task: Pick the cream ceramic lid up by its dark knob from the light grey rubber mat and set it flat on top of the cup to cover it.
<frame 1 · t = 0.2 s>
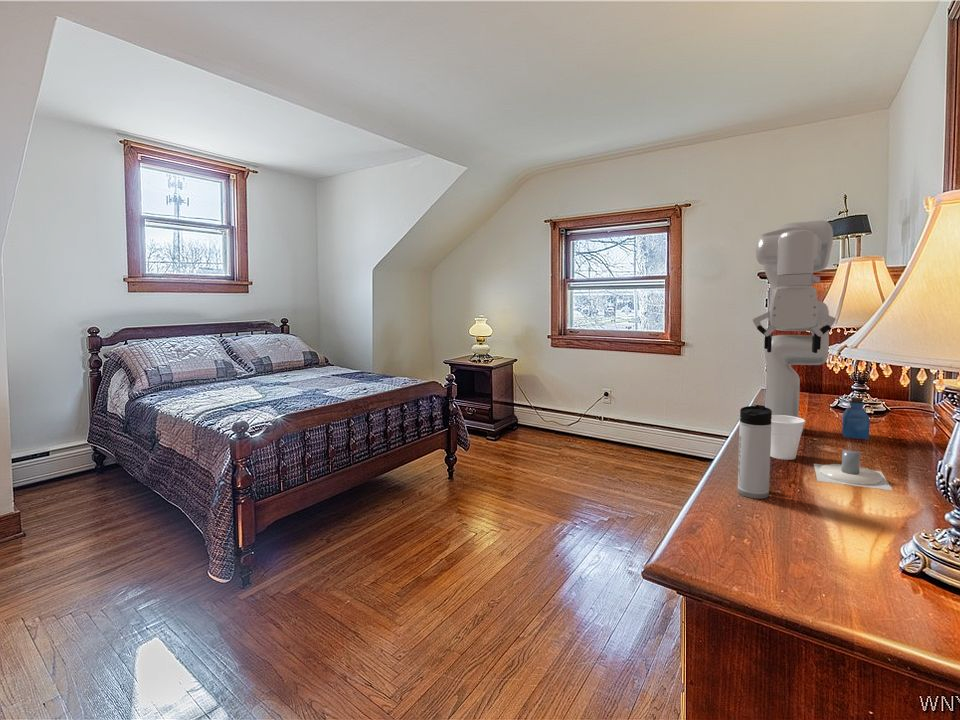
hand: (791, 352, 123), 31 cm above the dresser, tool pointing down, fingers open, 9 cm apart
cup: (782, 458, 137), on the dresser
travel mug: (753, 494, 113), on the dresser
lid: (850, 476, 121), resting on mat
perfume bottle: (854, 436, 156), on the dresser
mat: (849, 477, 121), on the dresser
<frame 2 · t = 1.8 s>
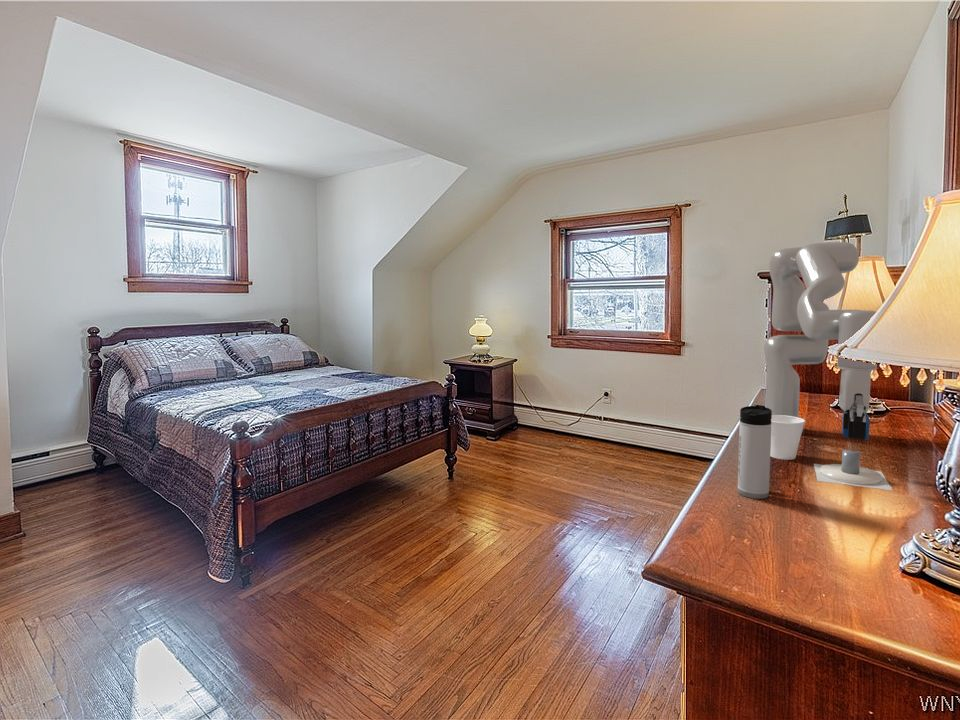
hand: (853, 433, 119), 11 cm above the dresser, tool pointing down, fingers open, 9 cm apart
nothing on the dresser moved.
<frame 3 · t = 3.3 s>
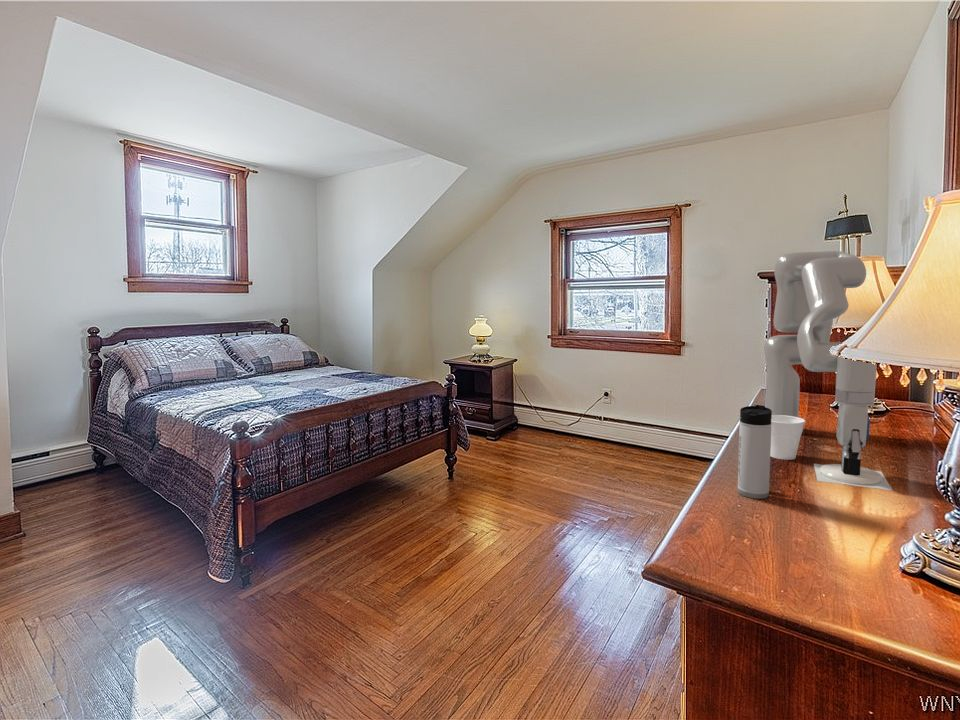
hand: (850, 470, 121), 2 cm above the dresser, tool pointing down, fingers closed on lid, 3 cm apart
lid: (850, 475, 121), resting on mat, touching gripper
everything else where it was.
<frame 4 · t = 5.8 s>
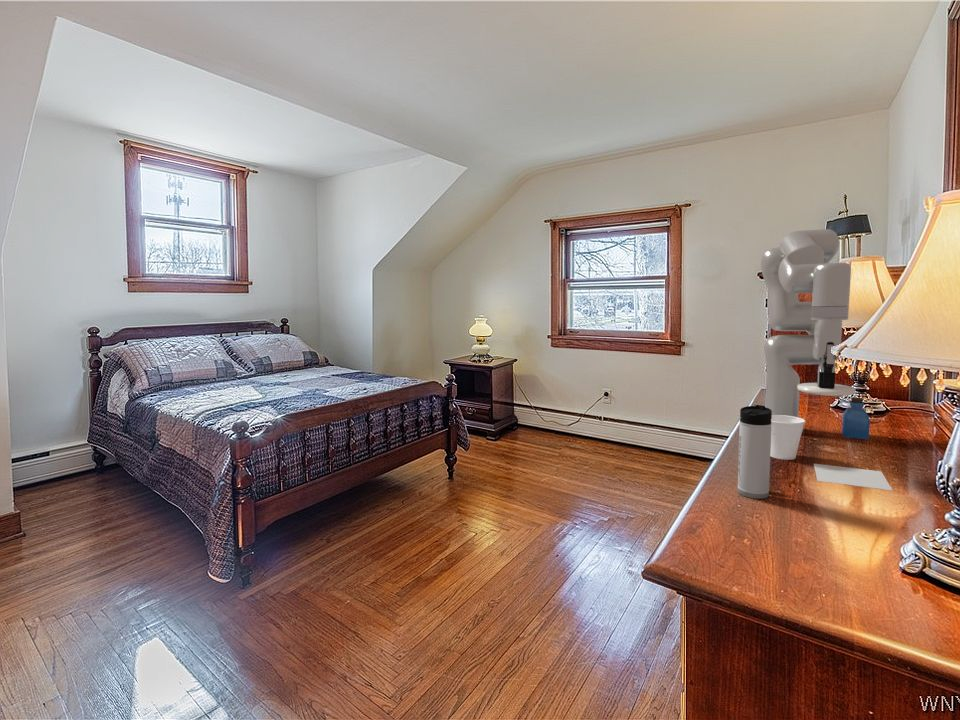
hand: (825, 385, 125), 22 cm above the dresser, tool pointing down, fingers closed on lid, 3 cm apart
lid: (825, 390, 125), point 20 cm above the dresser, touching gripper
everything else where it was.
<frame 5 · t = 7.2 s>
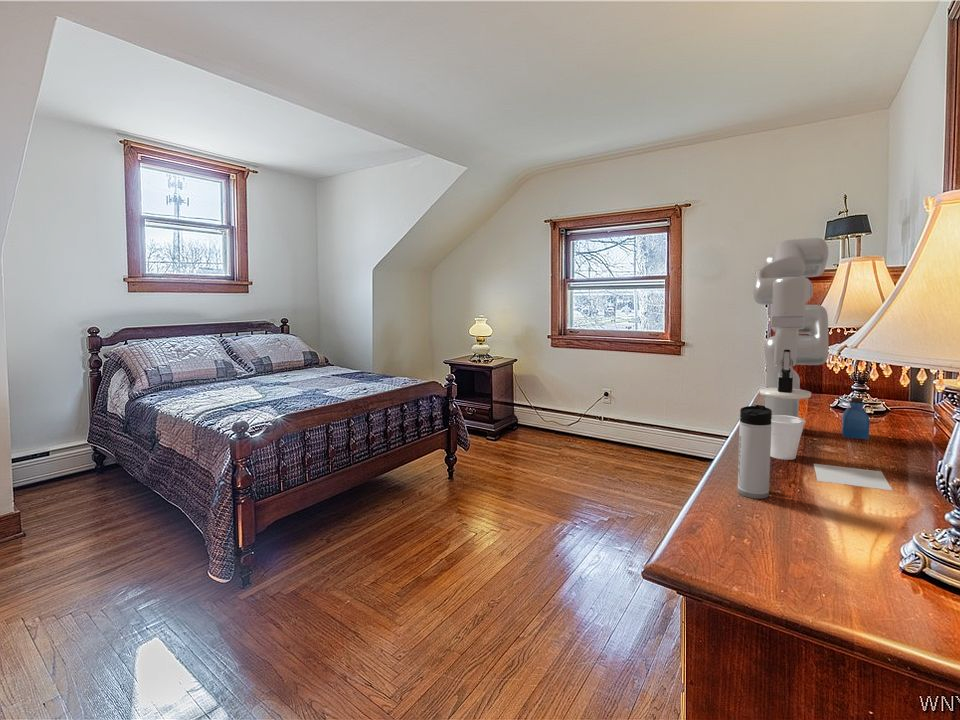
hand: (784, 390, 135), 19 cm above the dresser, tool pointing down, fingers closed on lid, 3 cm apart
lid: (784, 394, 135), point 18 cm above the dresser, touching gripper
everything else where it was.
when the fingers open (14 cm above the dresser, at t = 8.3 s): lid drops 2 cm, resting on cup.
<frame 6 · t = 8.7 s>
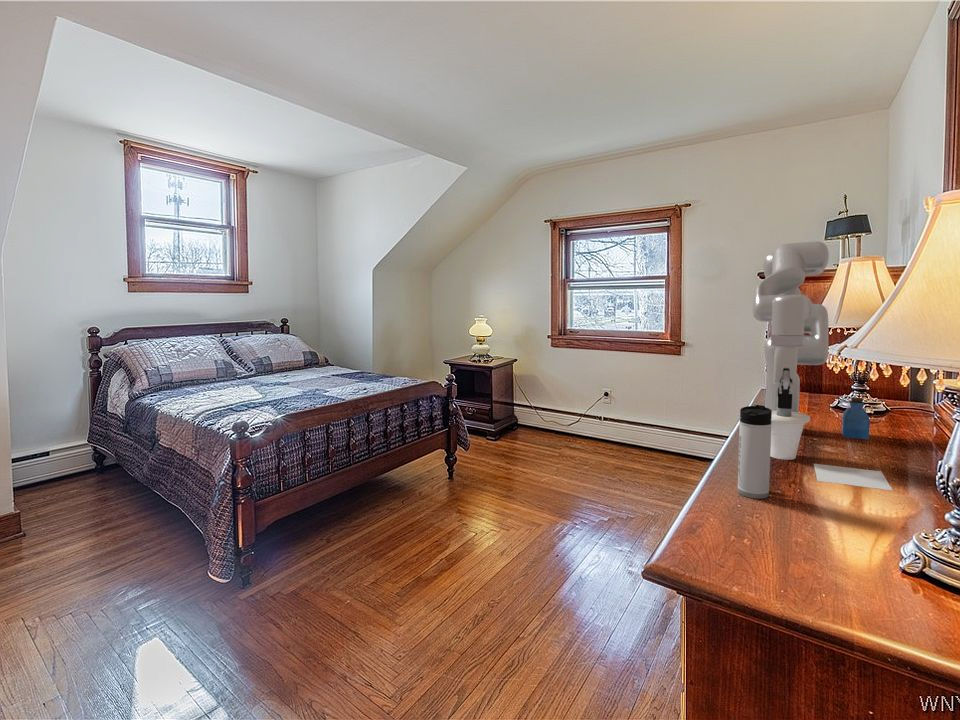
hand: (784, 405, 136), 15 cm above the dresser, tool pointing down, fingers open, 8 cm apart
cup: (782, 458, 137), on the dresser, touching lid
lid: (783, 418, 136), point 11 cm above the dresser, touching cup
everything else where it was.
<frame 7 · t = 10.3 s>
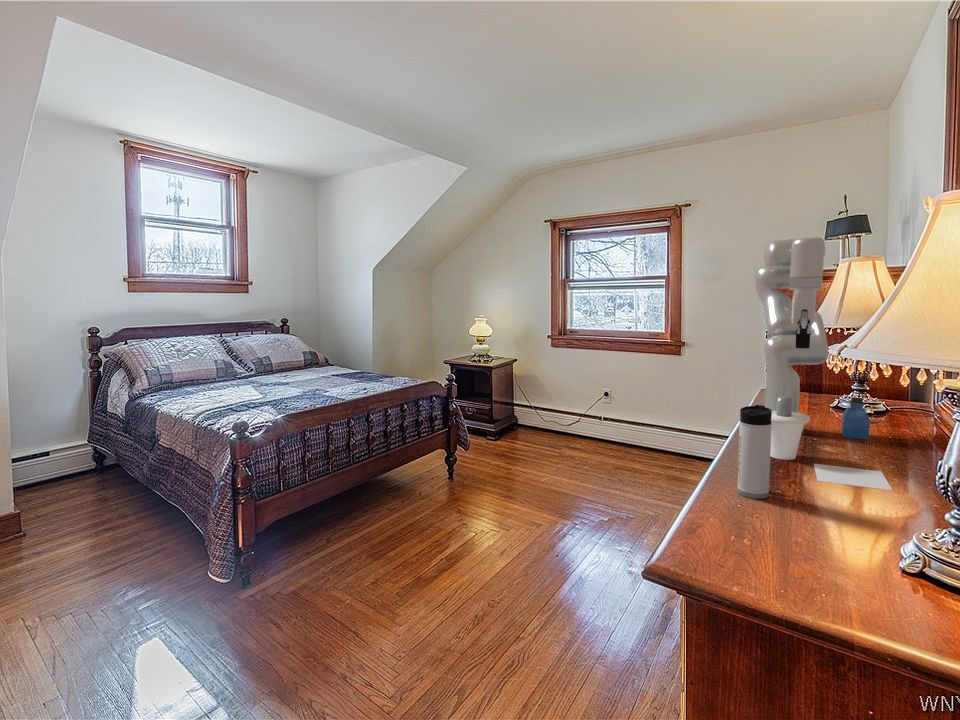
hand: (802, 345, 139), 30 cm above the dresser, tool pointing down, fingers open, 9 cm apart
nothing on the dresser moved.
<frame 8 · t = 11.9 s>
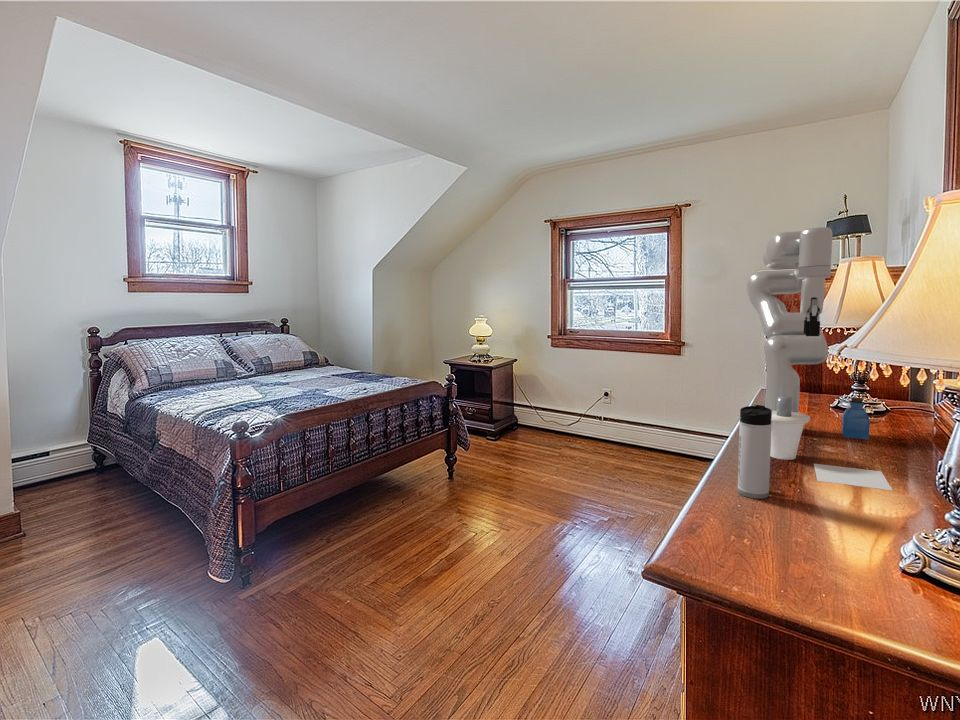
hand: (811, 334, 140), 33 cm above the dresser, tool pointing down, fingers open, 9 cm apart
nothing on the dresser moved.
at the end: lid 0.1 cm off-centre on the cup, point 11.2 cm above the cup's base; lid tilted 0°; the gripper is holding nothing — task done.
